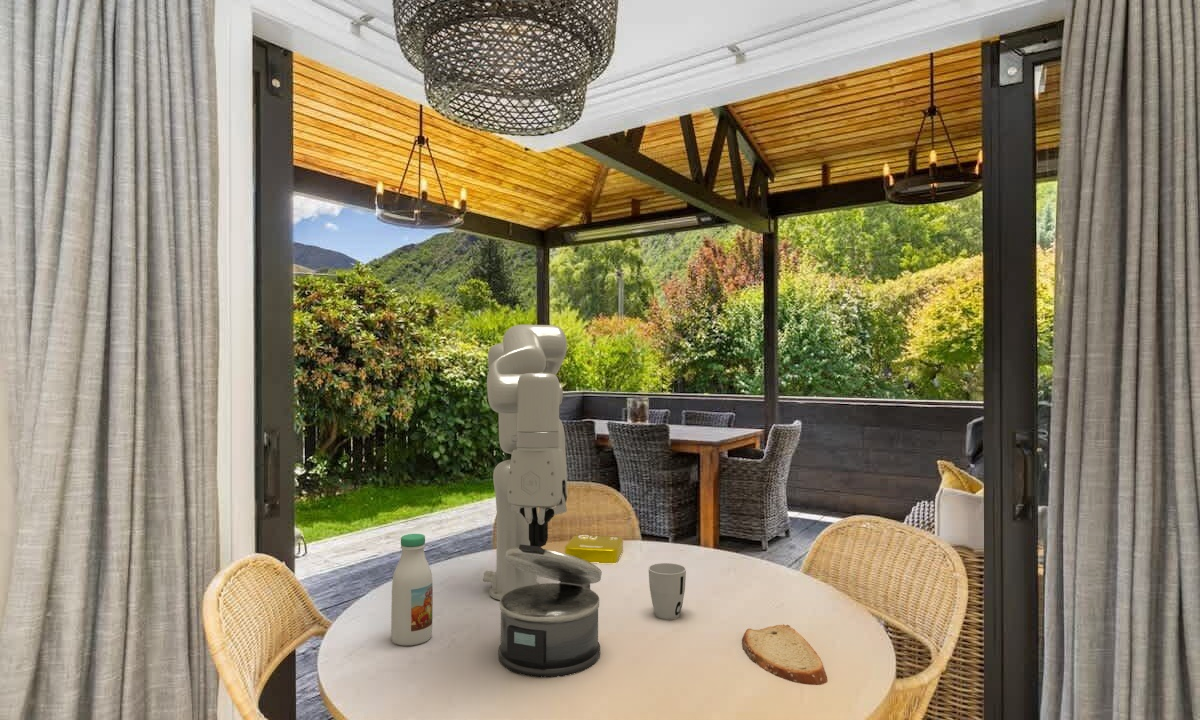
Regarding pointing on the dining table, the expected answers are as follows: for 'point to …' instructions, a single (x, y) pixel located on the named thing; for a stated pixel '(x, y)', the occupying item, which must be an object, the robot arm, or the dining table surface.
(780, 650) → the slice of bread
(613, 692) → the dining table surface
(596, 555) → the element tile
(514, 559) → the lid
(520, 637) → the pot
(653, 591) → the cup
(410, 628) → the milk bottle
